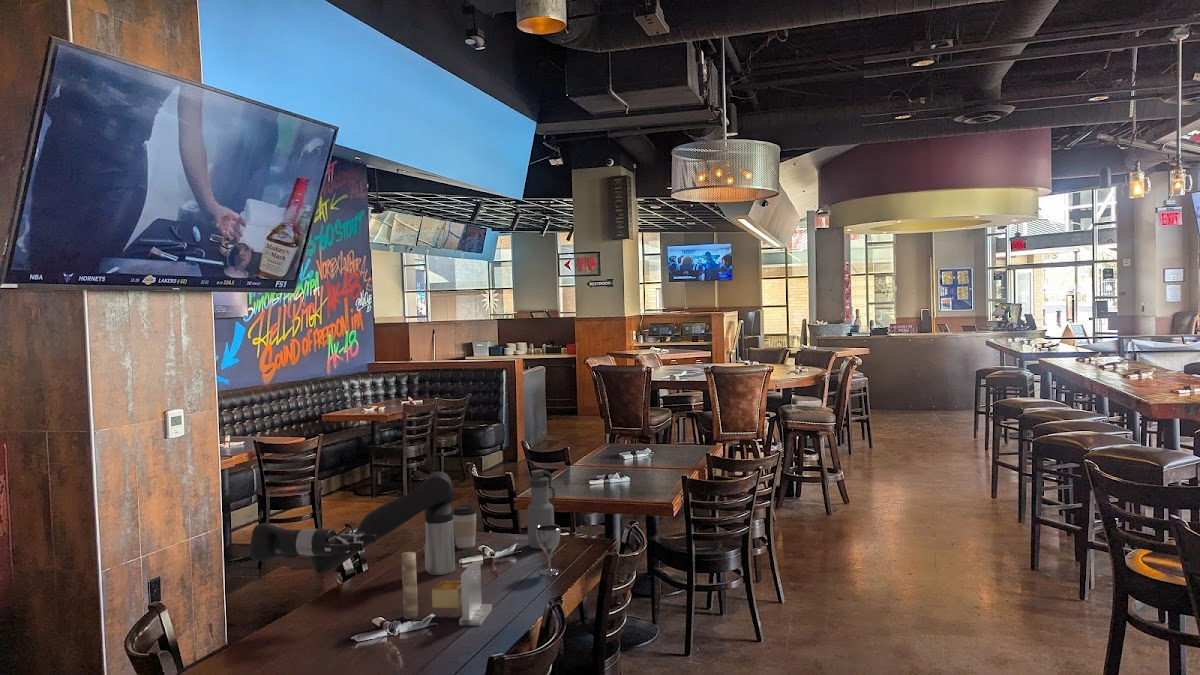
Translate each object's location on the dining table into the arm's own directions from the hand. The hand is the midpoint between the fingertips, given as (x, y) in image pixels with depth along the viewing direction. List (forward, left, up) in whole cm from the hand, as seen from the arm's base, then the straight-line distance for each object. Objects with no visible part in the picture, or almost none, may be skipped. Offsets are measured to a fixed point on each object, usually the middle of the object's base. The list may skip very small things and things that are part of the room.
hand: (369, 542), depth 222 cm
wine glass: (+19, +56, -21) cm, 63 cm away
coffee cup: (-29, +63, -21) cm, 73 cm away
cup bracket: (+23, +14, -21) cm, 34 cm away
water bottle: (-4, +78, -21) cm, 81 cm away
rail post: (+10, +6, -21) cm, 24 cm away
